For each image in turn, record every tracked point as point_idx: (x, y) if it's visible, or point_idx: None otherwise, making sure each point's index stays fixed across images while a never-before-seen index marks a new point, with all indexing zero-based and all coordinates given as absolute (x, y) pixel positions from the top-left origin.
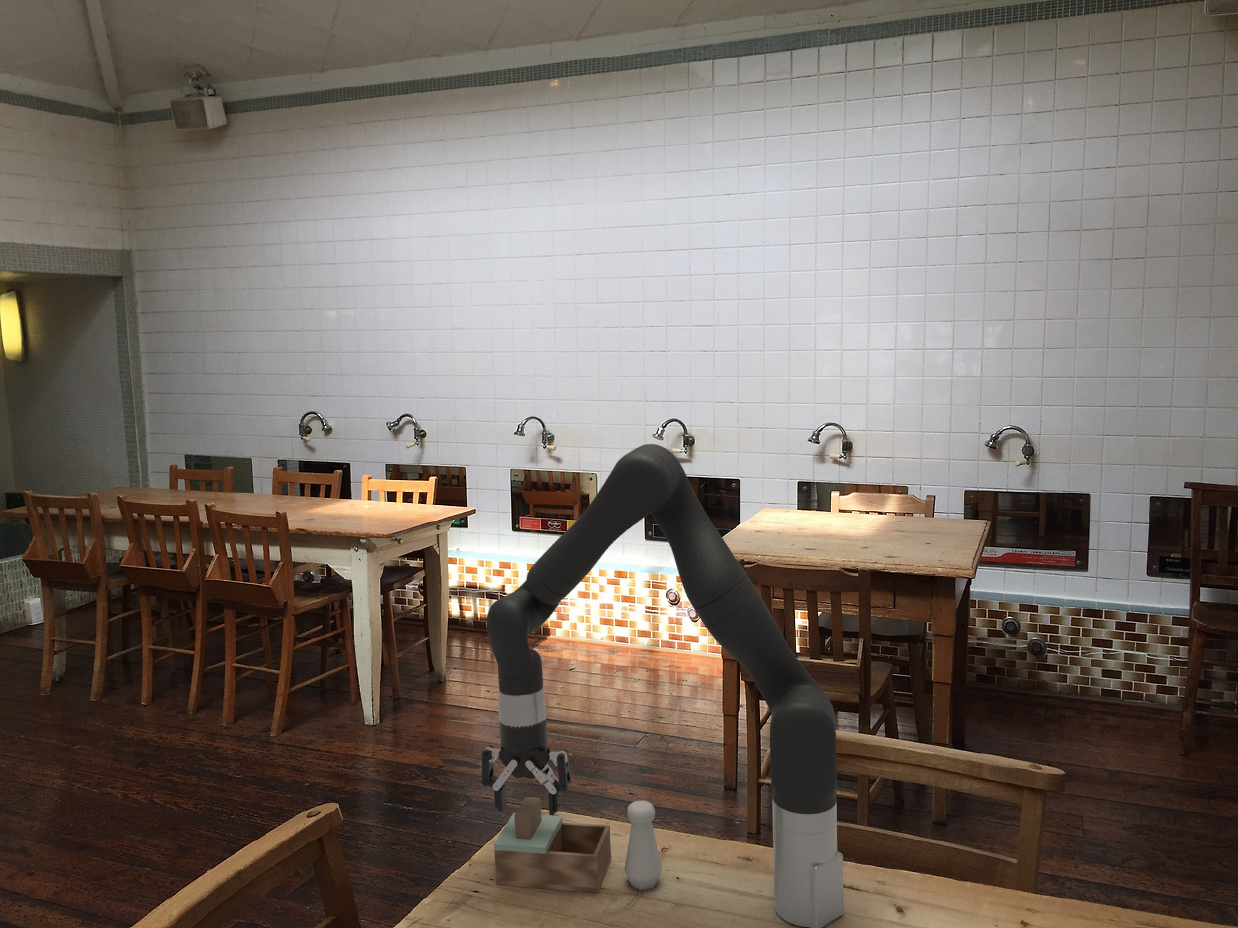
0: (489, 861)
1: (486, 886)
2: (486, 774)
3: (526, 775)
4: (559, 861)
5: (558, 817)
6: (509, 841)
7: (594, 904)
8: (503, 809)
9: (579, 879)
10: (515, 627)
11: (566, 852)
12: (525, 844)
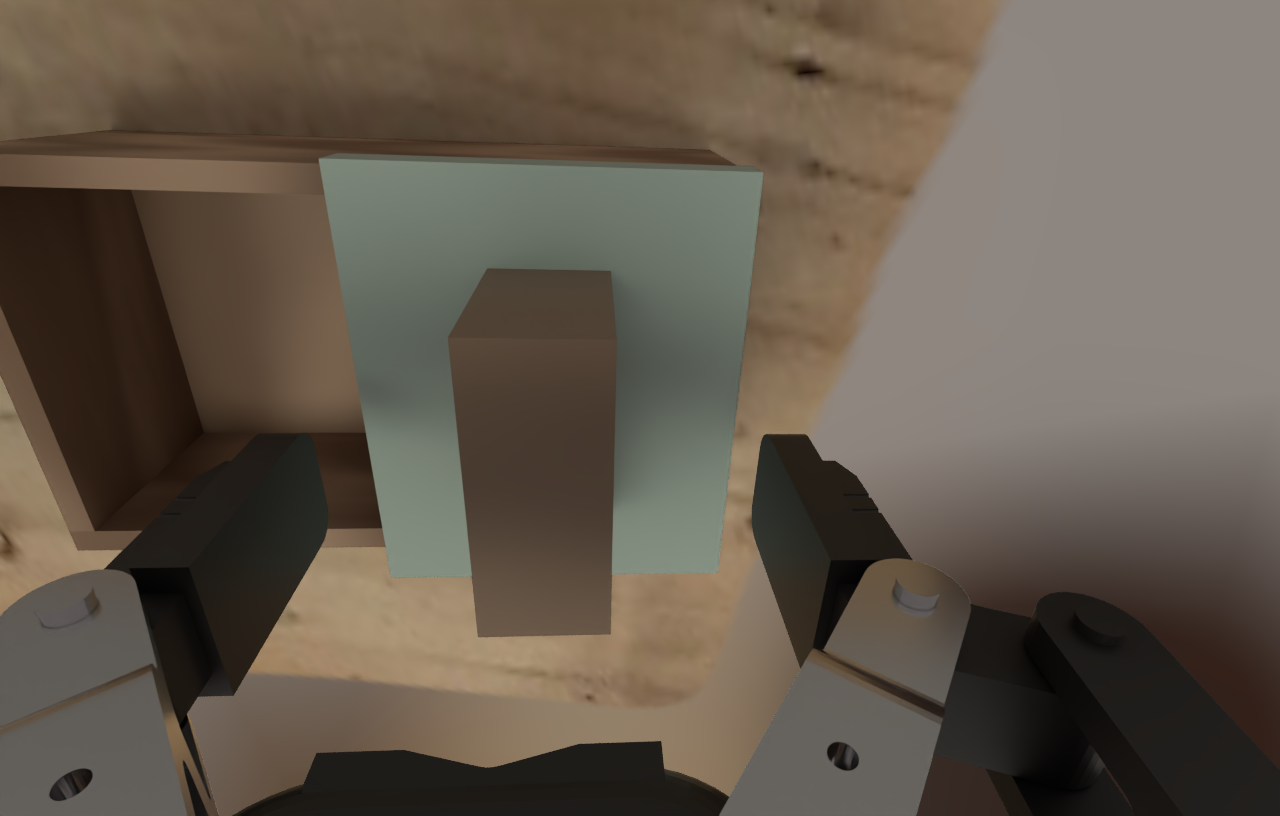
0: (793, 353)
1: (759, 126)
2: (1171, 744)
3: (429, 798)
4: (256, 153)
5: (408, 560)
6: (647, 224)
7: (67, 3)
8: (763, 460)
9: (178, 139)
10: None
11: (181, 189)
12: (504, 192)
